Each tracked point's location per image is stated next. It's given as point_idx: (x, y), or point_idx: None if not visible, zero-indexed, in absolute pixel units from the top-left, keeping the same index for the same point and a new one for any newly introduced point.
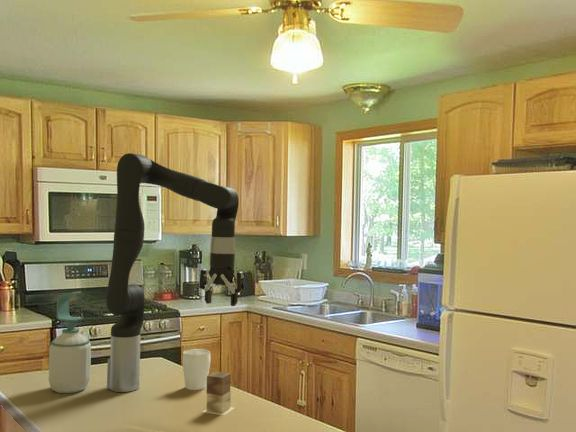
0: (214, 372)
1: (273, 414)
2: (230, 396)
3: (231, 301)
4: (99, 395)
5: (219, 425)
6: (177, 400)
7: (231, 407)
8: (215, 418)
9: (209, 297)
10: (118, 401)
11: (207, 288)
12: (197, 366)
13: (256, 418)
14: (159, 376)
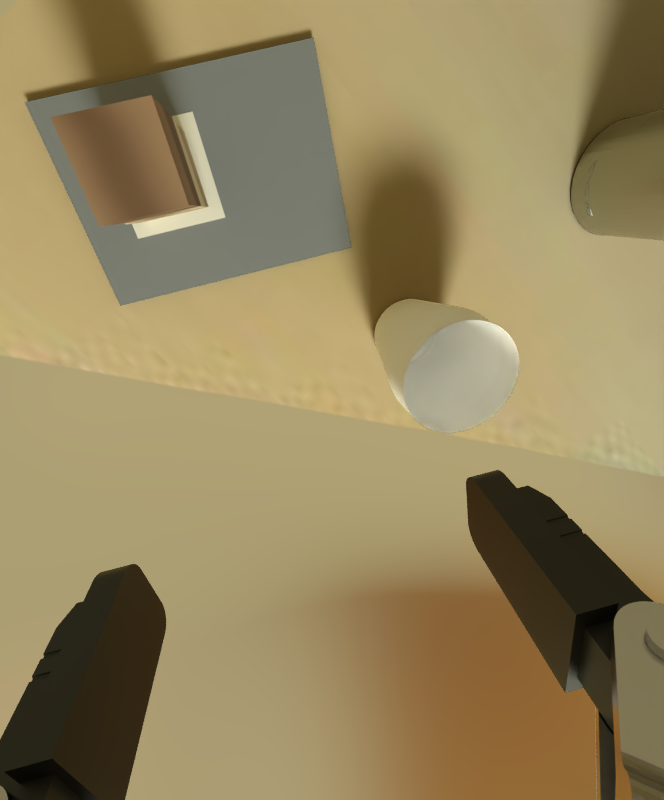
0: (177, 186)
1: (3, 288)
2: (132, 223)
3: (94, 616)
4: (659, 43)
5: (29, 36)
6: (378, 192)
7: (149, 232)
8: None
9: (508, 559)
10: (556, 28)
11: (649, 680)
12: (405, 325)
13: (5, 211)
14: (579, 355)
